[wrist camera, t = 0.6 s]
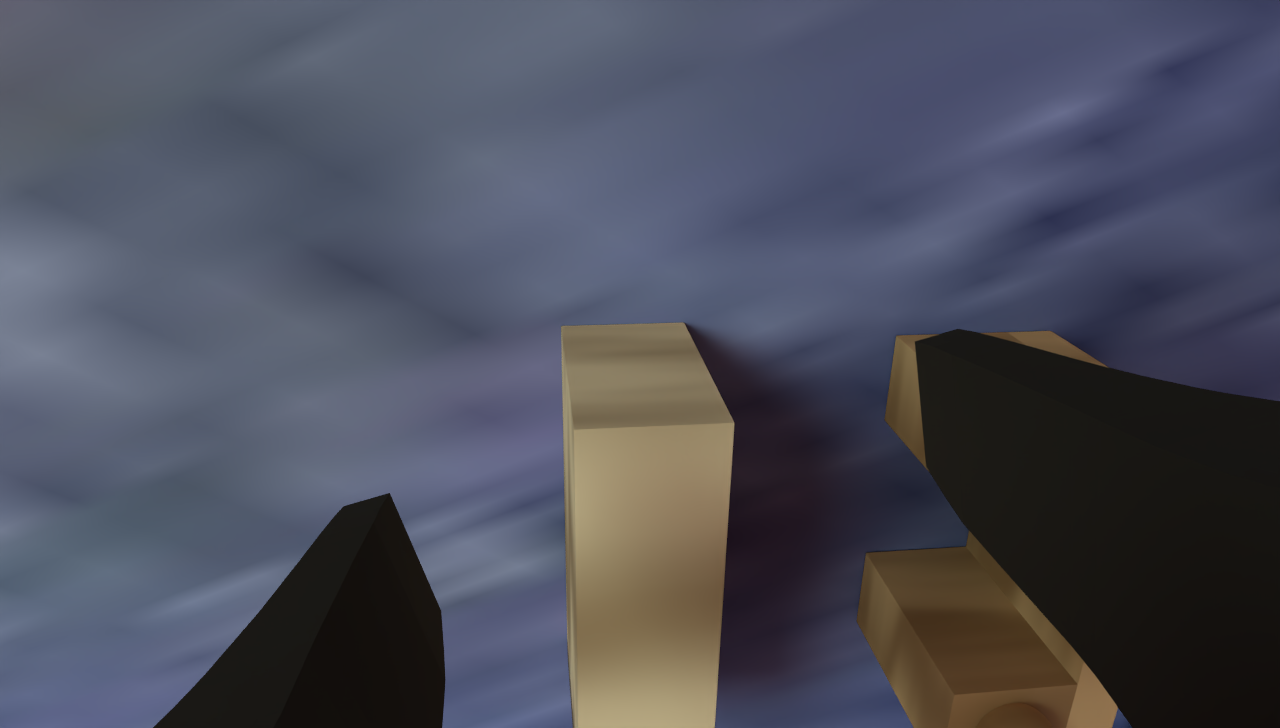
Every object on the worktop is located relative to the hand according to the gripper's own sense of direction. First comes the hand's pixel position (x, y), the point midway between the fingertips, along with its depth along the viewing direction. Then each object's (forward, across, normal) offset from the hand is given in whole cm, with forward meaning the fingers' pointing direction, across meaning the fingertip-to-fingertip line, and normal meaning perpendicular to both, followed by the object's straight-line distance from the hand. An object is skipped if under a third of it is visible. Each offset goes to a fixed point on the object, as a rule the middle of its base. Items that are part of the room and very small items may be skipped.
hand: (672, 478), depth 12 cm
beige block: (+10, +1, +7) cm, 12 cm away
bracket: (+9, -7, +9) cm, 15 cm away
